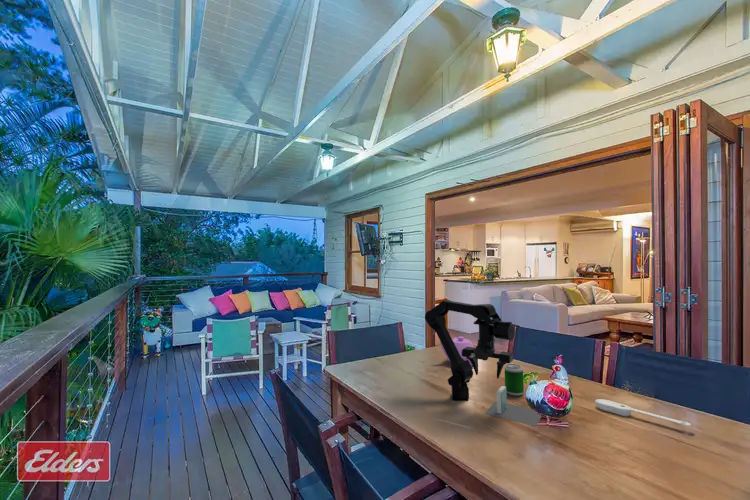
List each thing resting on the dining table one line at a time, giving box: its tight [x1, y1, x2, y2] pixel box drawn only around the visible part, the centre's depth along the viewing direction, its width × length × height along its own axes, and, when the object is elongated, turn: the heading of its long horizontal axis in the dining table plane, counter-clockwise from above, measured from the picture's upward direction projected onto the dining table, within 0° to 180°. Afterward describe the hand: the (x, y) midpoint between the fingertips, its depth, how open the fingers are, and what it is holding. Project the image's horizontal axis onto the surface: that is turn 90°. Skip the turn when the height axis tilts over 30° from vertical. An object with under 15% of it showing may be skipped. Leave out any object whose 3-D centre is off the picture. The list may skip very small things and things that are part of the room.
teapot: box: [439, 335, 475, 367], centre depth 197 cm, size 20×20×15 cm
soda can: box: [504, 363, 525, 397], centre depth 151 cm, size 8×8×12 cm
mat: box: [484, 400, 543, 427], centre depth 132 cm, size 18×14×1 cm
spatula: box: [594, 398, 692, 427], centre depth 126 cm, size 28×6×3 cm, turn 39°
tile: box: [496, 385, 508, 414], centre depth 134 cm, size 2×7×8 cm, turn 144°
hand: (487, 376), depth 138 cm, fingers open, 8 cm apart
